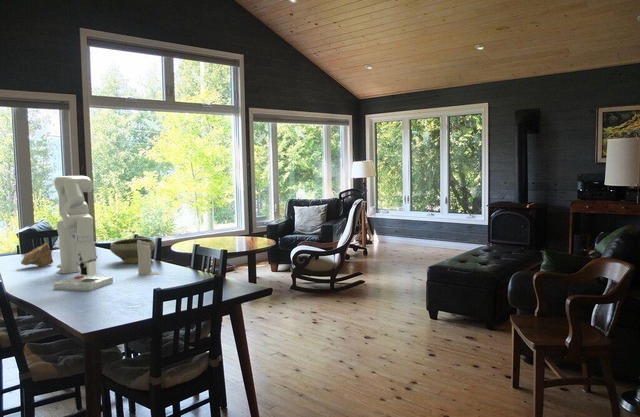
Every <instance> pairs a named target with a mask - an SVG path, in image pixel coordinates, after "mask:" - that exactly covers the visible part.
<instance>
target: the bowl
mask: <svg viewBox="0 0 640 417" xmlns="http://www.w3.org/2000/svg"><path fill="white" fill-rule="evenodd" d="M137 240H141V241H146V243H149V245H150V250H151V252H153V250H154V249H155V248H156V243H155V241H154V240H153V239H151V238H148V237H147V238H146V237H137V238H136V237H135V238H123V239H117V240H114V241H113V242H110V247H109V248H110V252H111V253H112V254H114V255H115V256H116V257H117V258H119V259H121V260H122V261H123V262H124V263H127V264H136V263H137V264H138V251H137Z"/></svg>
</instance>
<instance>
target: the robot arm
mask: <svg viewBox="0 0 640 417" xmlns="http://www.w3.org/2000/svg"><path fill="white" fill-rule="evenodd" d="M53 184H54V188H55V190H56V191H57V195H58V212H59V216H60V218H61V220H59V221H58V222H57V223H56V230H57V231H56V232H57V234H58V240H59V241H58V242H59V252H60V254H59V255H60V263H59V264H57V265H56V268H57V269H59V270H58V273H59V274H74V273H80V269H79V266H80V267H81V275H87V267H86V261H95V262H97V259H98V255H97V250H96V245H95V244H96V242H95V238H94V227H93V226H94V224H93V223H94V219H93V218H94V217H93V216H92V215H91V214H90V208H89V205H88V203H87V202H86V201H85V195H84V193H90V192H92V191H93V188H94V184H93V182H92V179H91V178H90V177H88V176H86V175H67V176H66V175H61V176H57V177H55V178H54V181H53ZM74 235H75V236H76V235H77V239H76V238H74ZM83 263H84V264H83Z"/></svg>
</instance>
